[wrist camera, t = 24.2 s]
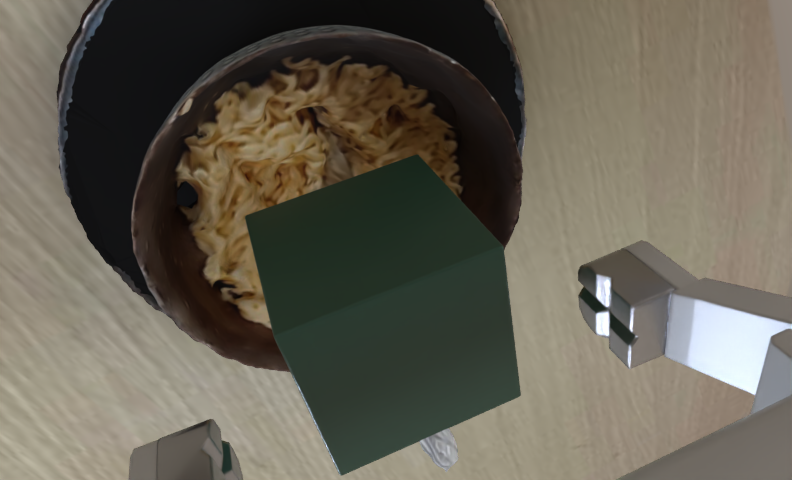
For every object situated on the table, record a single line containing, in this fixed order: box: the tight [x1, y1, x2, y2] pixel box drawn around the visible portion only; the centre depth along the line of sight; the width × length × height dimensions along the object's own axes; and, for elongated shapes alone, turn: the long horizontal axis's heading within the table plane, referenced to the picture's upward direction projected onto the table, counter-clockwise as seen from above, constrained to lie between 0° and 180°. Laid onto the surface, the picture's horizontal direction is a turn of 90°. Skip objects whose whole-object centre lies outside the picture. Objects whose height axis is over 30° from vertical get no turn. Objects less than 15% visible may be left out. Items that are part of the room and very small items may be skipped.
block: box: [245, 154, 521, 475], centre depth 13 cm, size 4×4×4 cm
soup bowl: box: [57, 0, 527, 472], centre depth 17 cm, size 15×16×7 cm
